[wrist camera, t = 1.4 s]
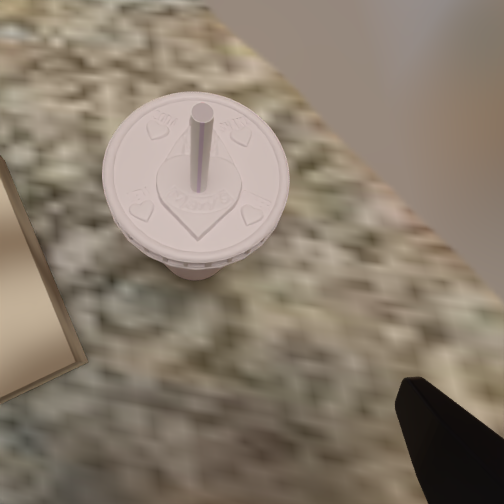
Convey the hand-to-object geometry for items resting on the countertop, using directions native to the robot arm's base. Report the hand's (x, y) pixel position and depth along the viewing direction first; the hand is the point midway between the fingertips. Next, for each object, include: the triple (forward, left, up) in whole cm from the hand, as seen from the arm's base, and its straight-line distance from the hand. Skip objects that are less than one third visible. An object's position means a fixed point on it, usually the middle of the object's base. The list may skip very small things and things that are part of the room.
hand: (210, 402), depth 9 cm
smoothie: (+7, +1, -13) cm, 15 cm away
